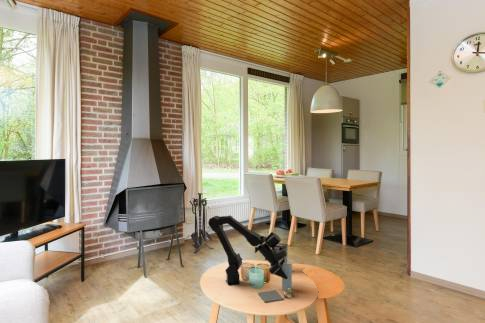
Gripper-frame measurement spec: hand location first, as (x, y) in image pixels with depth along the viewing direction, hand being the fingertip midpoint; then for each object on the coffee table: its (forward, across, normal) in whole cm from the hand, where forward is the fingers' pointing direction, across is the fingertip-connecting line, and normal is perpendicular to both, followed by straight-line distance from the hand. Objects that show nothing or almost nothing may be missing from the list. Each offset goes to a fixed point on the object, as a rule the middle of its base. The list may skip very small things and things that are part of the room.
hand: (288, 275), depth 162 cm
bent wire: (+6, -8, +5) cm, 11 cm away
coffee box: (-1, +26, +11) cm, 28 cm away
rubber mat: (0, -11, +11) cm, 16 cm away
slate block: (+5, 0, +6) cm, 7 cm away
